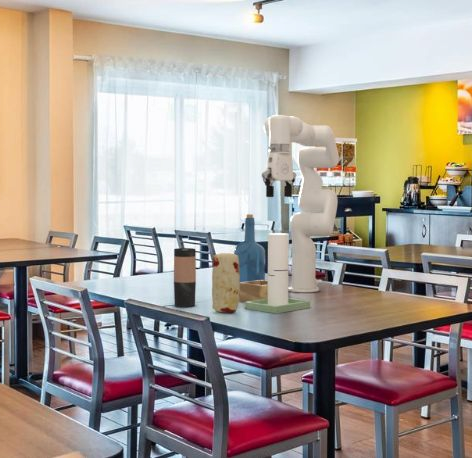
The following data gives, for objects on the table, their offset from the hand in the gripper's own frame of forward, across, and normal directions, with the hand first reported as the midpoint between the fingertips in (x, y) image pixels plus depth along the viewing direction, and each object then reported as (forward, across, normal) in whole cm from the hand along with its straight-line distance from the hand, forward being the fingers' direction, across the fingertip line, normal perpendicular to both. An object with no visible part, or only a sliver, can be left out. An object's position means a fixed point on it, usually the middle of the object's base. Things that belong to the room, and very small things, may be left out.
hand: (279, 196), depth 284 cm
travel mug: (+38, -31, +16) cm, 52 cm away
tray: (+38, -11, -10) cm, 41 cm away
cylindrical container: (+38, -11, -10) cm, 40 cm away
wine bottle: (+38, +23, +38) cm, 59 cm away
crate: (+38, -5, +4) cm, 39 cm away
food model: (+38, -30, -4) cm, 49 cm away
